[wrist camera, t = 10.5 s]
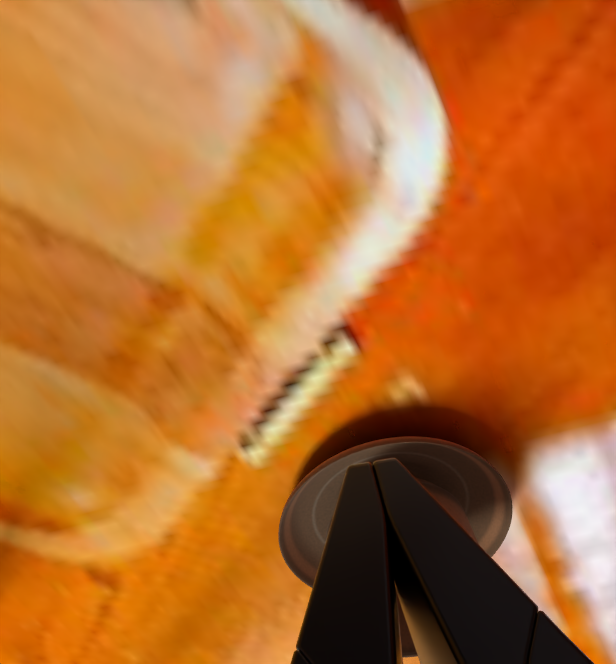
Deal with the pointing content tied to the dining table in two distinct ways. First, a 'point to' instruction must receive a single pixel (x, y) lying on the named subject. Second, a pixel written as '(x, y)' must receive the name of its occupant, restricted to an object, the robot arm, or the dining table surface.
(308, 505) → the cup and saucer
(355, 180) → the dining table surface
